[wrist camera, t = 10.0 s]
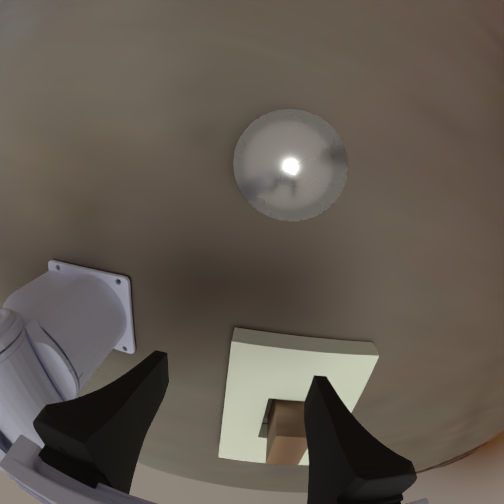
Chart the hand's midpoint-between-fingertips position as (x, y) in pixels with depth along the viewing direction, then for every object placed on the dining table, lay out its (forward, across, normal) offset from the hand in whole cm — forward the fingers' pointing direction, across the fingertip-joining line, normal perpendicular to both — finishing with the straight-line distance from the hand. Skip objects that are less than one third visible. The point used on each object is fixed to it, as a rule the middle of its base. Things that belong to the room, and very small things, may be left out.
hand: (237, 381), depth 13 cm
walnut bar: (+10, -5, +12) cm, 16 cm away
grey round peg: (+10, -1, -10) cm, 14 cm away
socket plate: (+9, -5, +12) cm, 16 cm away
